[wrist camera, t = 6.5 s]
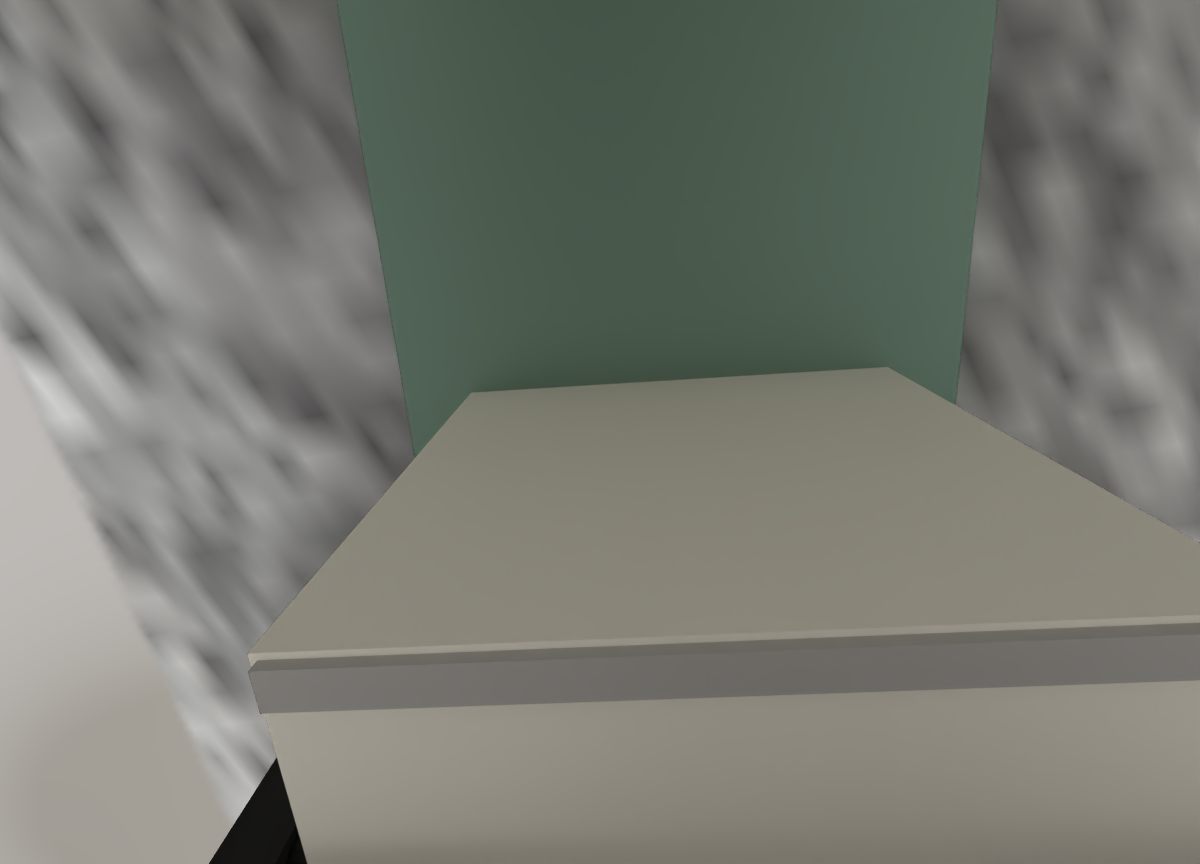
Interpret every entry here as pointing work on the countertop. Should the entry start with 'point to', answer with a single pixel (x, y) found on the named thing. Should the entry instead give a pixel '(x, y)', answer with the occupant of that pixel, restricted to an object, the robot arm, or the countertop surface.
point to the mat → (669, 187)
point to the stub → (741, 642)
